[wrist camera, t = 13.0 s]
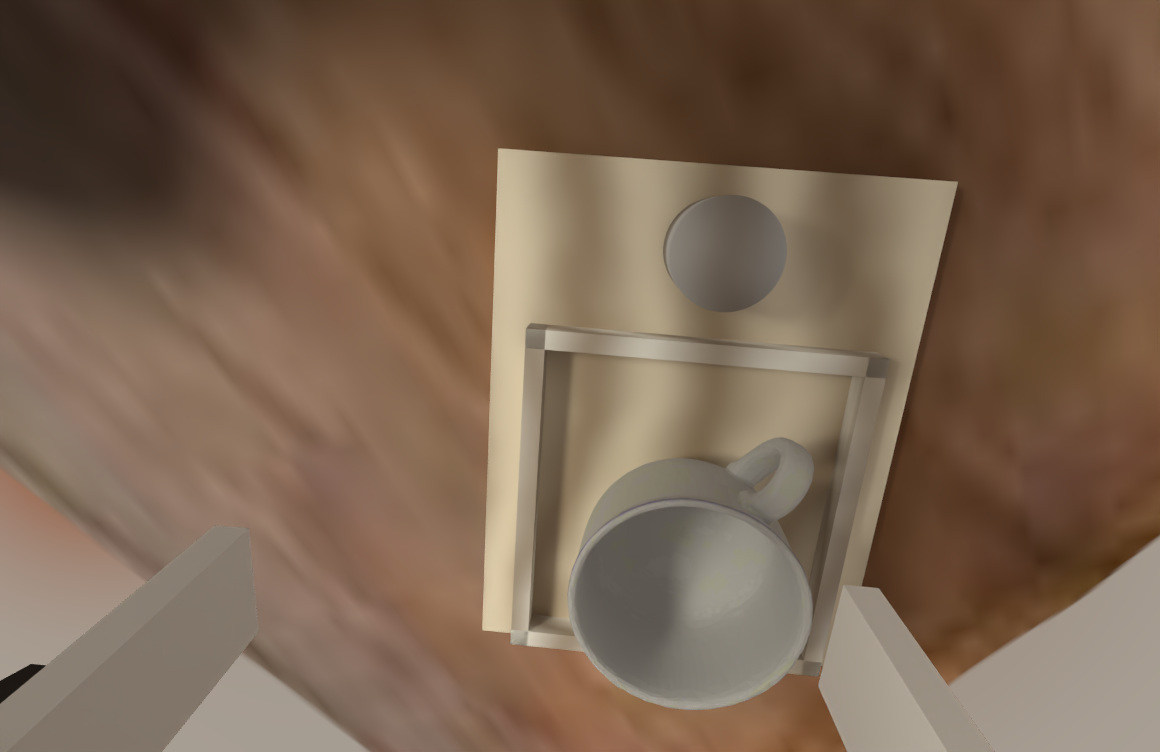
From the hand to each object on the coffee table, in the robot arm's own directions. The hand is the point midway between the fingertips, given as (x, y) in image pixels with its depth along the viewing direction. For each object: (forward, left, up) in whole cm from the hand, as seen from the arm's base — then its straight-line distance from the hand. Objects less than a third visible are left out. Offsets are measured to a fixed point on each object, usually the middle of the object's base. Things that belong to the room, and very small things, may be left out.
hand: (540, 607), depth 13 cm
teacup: (+7, -7, -19) cm, 22 cm away
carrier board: (+6, -3, -20) cm, 21 cm away
